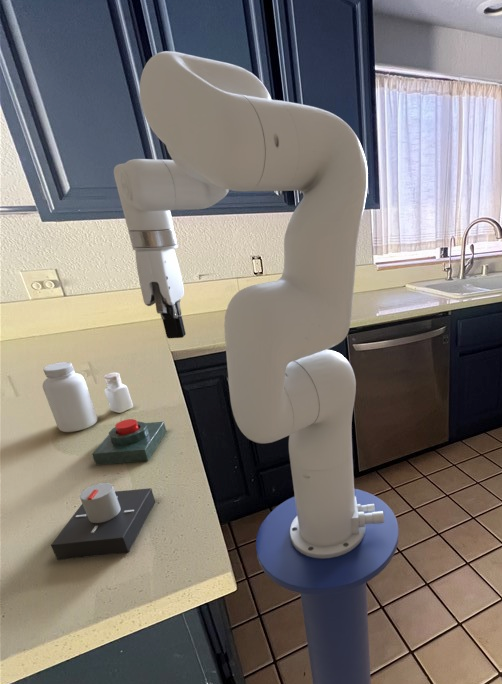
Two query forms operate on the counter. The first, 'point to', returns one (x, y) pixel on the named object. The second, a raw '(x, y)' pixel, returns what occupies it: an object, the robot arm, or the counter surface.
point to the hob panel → (105, 528)
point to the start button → (127, 427)
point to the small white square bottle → (117, 393)
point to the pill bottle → (68, 397)
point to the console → (130, 444)
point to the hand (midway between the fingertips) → (176, 336)
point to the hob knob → (100, 502)
